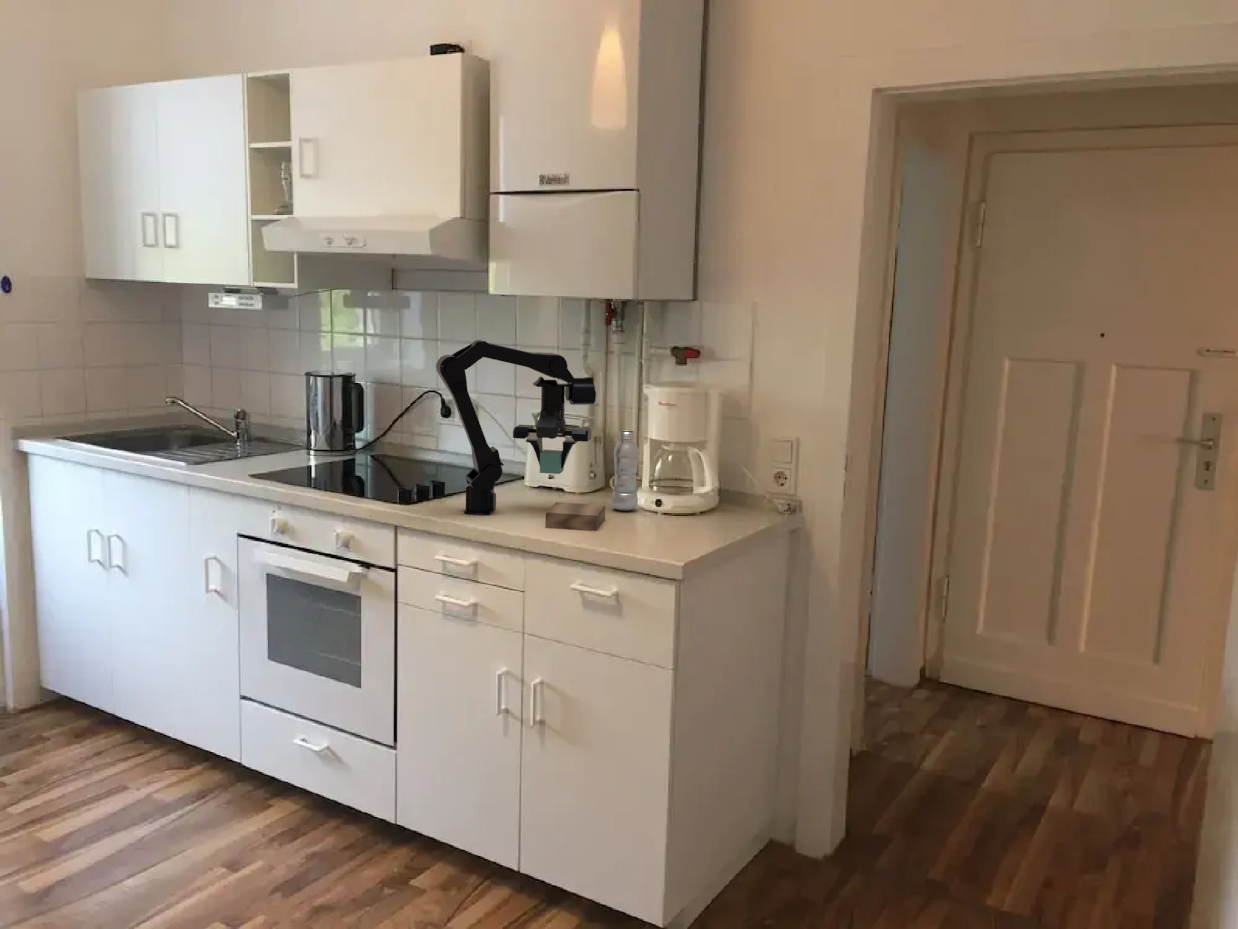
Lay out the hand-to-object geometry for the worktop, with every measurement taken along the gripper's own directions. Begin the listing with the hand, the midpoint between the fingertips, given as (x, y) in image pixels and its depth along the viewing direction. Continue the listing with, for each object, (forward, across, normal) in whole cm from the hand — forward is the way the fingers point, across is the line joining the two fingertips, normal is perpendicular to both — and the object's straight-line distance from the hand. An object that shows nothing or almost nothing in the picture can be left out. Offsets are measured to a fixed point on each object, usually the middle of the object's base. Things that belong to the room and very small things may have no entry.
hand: (551, 467), depth 259 cm
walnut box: (+11, +9, -14) cm, 20 cm away
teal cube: (+1, 0, 0) cm, 1 cm away
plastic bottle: (+11, +18, +4) cm, 21 cm away
